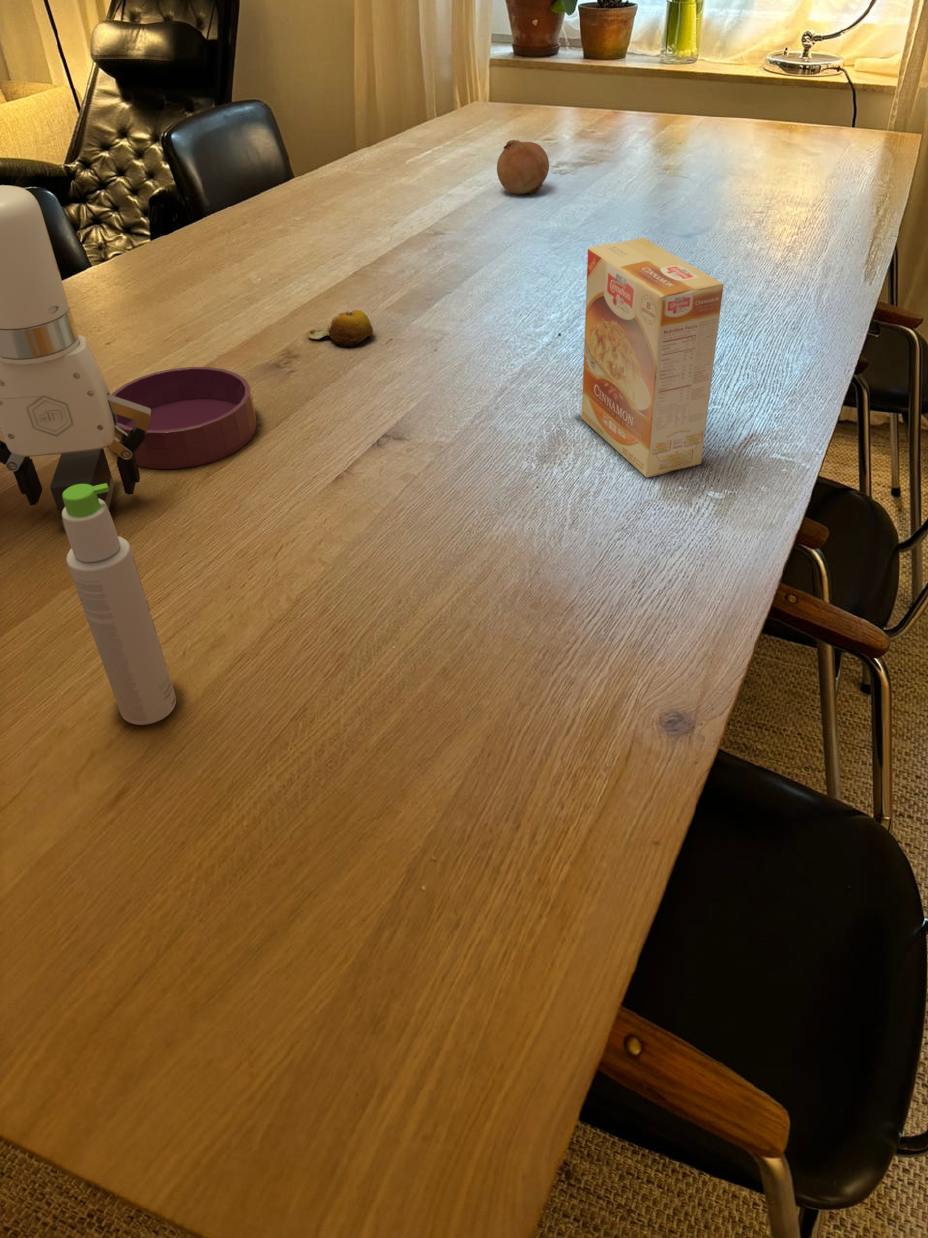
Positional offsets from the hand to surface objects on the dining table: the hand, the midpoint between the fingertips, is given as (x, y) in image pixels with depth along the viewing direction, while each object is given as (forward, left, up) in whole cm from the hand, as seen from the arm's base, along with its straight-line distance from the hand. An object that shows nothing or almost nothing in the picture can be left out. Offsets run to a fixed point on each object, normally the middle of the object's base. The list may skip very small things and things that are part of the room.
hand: (84, 492), depth 102 cm
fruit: (+29, +38, -2) cm, 48 cm away
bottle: (+9, -32, -2) cm, 33 cm away
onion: (+65, +95, -2) cm, 115 cm away
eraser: (0, 0, -2) cm, 2 cm away
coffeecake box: (+59, +1, -2) cm, 59 cm away
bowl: (+9, +14, -2) cm, 17 cm away
